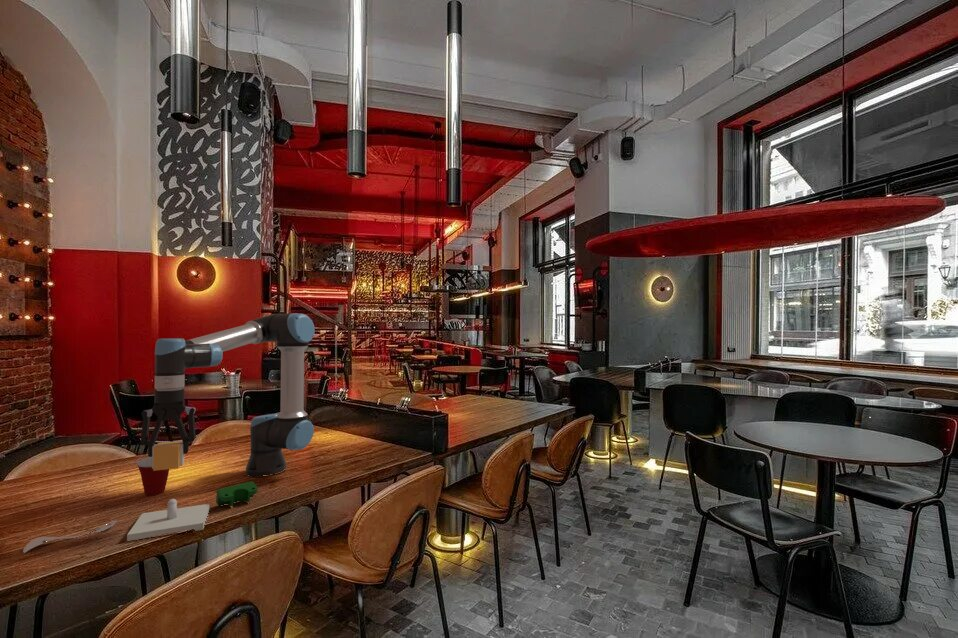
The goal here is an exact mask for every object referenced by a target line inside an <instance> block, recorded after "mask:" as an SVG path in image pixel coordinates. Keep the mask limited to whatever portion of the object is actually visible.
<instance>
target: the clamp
mask: <svg viewBox="0 0 958 638" xmlns="http://www.w3.org/2000/svg"><path fill="white" fill-rule="evenodd" d="M258 490H259V488H258V486H257V484H255V482H254V481H253V480H252V481H248V482H243V483H239V484H235V485H234V484H233V485H231V486H226V487H221V488H217V489H216V498H215V503H216V504H217V506H218V507H219V506H221V505H224V504H228V505H227V506H229V505H230V506H233V507H234V504H235V503H234V502H237V501H242V502H243V501H247V502H249V503H250V501H251V499H250V497H253V498H254V496H255V495H256V494H257V493H258ZM233 503H234V504H233Z"/></svg>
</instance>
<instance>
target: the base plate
mask: <svg viewBox="0 0 958 638" xmlns="http://www.w3.org/2000/svg"><path fill="white" fill-rule="evenodd" d="M166 506H167V507H166V509H162V510H157V511H150V512H142V513H141V515H140V516H139V517H138V519H137V520H136V522H135V523H134V524H133V526H132V527H131V529H130V530H129V531H128V533H127V534H126V538H127V539H126V542H127V541H130V540H135V539H142V538H146V537H151V536H156V535H161V534H165V533H171V532H178V531H185V530H191V529H194V530H195V531H194V532H197V531H202V530H204V528H205V526H204V524H205V525H206V523H205V521H206V522H207V520H206V518H207V519H208V517H209V514H210V512H209V510H210V511H211V503H205V504H198V505H197V504H196V505H191V506H184V507H183V506H182V507H178V500H176V499H175V498H171V499H169V500H168V502H167V505H166ZM208 513H209V514H208ZM207 516H208V517H207Z"/></svg>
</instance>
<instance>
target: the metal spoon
mask: <svg viewBox="0 0 958 638" xmlns="http://www.w3.org/2000/svg"><path fill="white" fill-rule="evenodd" d="M117 521H118V520H112V521H109V522H107V523H106V524H103V525H102V526H100V527H97V528H96V529H94V530H93V529H92V530H91V531H89V532H86V533H83V534H80V535H79V534H78V535H74V536H39V537H35V538H32V540H30V541H29V542H28V543H26V545H25V546H24V547H23V550H22V553H24V554H26V553H27V552H29V551H31V550H32V549H35V548H36V547H38V546H40V545H42V544H45V543H48V542H51V541H55V540H63V539H77V538H76V537H79V536H82V535H84V534H89V533H90V532H91V533H94V532H99V533H102V532H103V531H106V530H108V529H110V528H111V527H114V526H115V525H116V524H117ZM95 530H96V531H95ZM92 531H93V532H92ZM101 531H102V532H101ZM82 537H83V536H82ZM79 538H80V537H79Z"/></svg>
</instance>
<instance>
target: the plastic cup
mask: <svg viewBox="0 0 958 638" xmlns="http://www.w3.org/2000/svg"><path fill="white" fill-rule="evenodd" d="M136 467H138V470H139V472H140V478H141V482H142V487H143V490H144V492H143V493H144V494H145V496H147V495H149V496H148V497H150V496H151V495H152V496H157V495H161V494H163V493H165V490H166V486H167V482H168V478H169V472H170V469H166V470H156V471H153V469H152V457H149V456H148V457H145V458H142V459H139V460H138V461H137V462H136Z"/></svg>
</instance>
